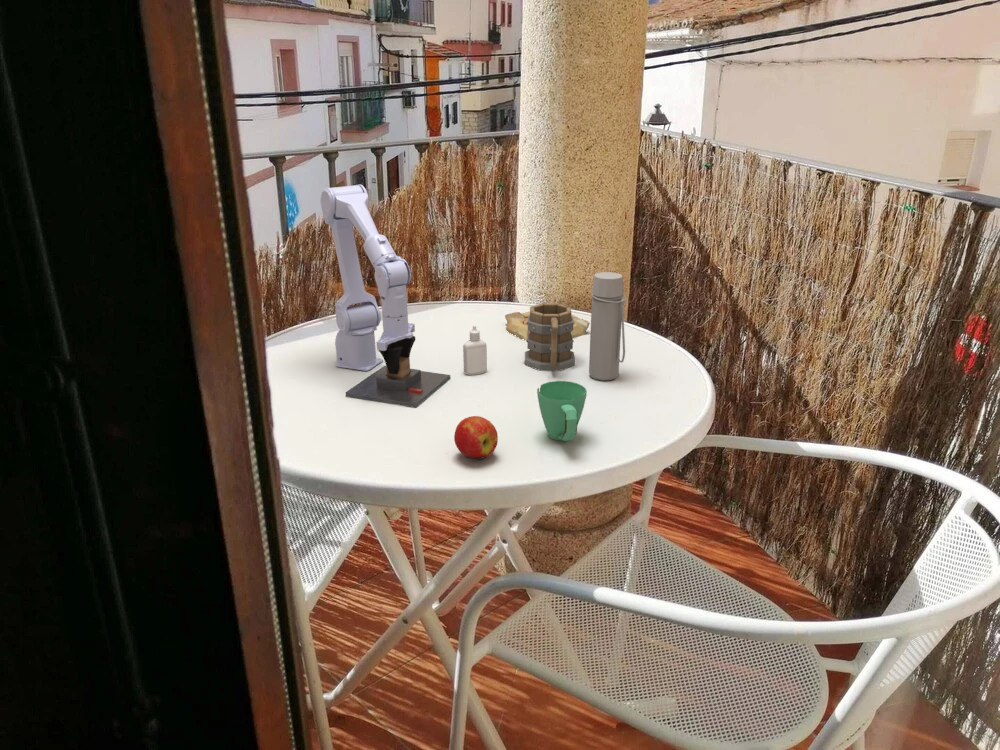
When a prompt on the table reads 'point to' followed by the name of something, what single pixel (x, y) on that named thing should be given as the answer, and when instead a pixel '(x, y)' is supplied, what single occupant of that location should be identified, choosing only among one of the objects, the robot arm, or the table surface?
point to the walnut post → (401, 368)
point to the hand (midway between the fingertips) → (398, 370)
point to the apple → (476, 437)
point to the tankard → (550, 337)
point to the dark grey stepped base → (398, 387)
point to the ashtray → (520, 329)
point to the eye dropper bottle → (475, 354)
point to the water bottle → (606, 326)
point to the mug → (561, 408)
